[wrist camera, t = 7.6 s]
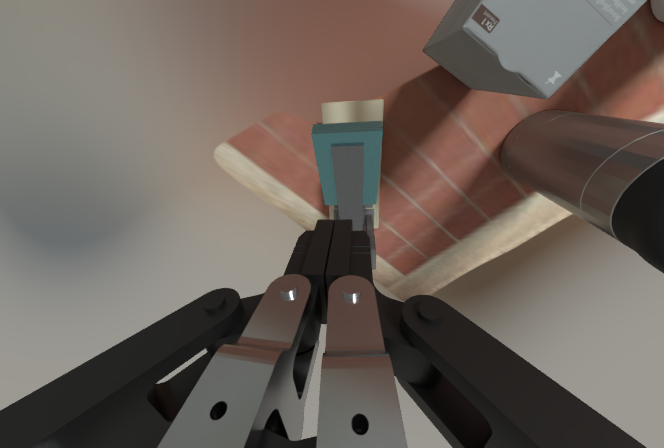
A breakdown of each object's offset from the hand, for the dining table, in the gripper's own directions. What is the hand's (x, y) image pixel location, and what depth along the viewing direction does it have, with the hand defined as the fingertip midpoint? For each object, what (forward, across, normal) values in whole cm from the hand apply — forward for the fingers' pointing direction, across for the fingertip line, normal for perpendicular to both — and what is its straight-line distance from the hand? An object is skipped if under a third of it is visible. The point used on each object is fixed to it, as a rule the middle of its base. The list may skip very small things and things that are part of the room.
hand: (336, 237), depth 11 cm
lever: (+19, 0, +6) cm, 20 cm away
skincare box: (+27, -13, -9) cm, 32 cm away
